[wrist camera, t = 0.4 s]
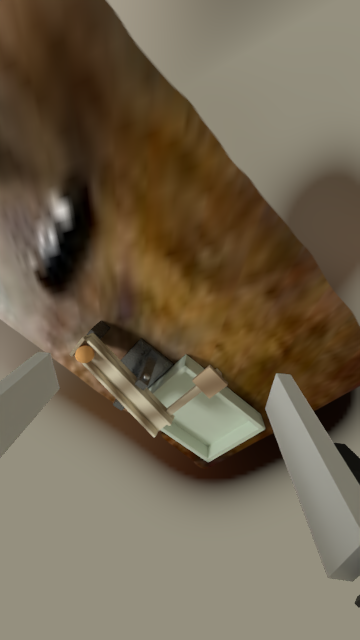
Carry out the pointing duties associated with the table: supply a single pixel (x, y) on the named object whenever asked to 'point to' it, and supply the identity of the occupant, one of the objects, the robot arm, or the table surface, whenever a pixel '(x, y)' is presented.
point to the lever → (144, 401)
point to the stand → (139, 361)
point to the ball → (84, 354)
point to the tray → (205, 413)
